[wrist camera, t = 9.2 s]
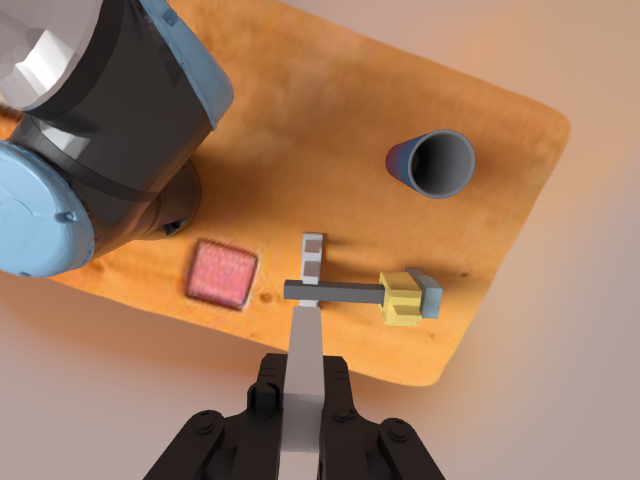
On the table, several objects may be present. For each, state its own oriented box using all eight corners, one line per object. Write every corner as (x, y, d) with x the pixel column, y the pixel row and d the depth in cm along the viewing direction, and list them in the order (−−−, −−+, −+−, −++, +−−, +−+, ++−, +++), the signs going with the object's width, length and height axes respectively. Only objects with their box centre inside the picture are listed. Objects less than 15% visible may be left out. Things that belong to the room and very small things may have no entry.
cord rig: (287, 307, 52) (281, 339, 43) (290, 231, 49) (284, 248, 40) (413, 313, 53) (432, 346, 44) (424, 238, 49) (448, 257, 40)
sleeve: (376, 302, 47) (390, 335, 38) (380, 270, 46) (395, 298, 37) (403, 303, 47) (422, 337, 38) (407, 272, 46) (429, 300, 37)
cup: (403, 194, 47) (441, 212, 33) (369, 164, 46) (393, 169, 32) (435, 158, 46) (490, 160, 31) (402, 126, 45) (442, 113, 30)
